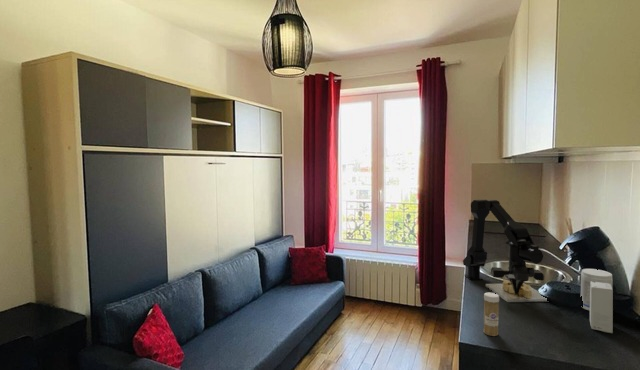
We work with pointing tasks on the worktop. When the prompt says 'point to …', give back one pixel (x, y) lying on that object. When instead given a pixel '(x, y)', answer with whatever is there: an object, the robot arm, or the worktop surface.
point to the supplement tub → (592, 276)
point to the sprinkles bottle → (491, 313)
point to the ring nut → (523, 290)
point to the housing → (515, 297)
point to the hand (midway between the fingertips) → (516, 293)
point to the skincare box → (601, 306)
